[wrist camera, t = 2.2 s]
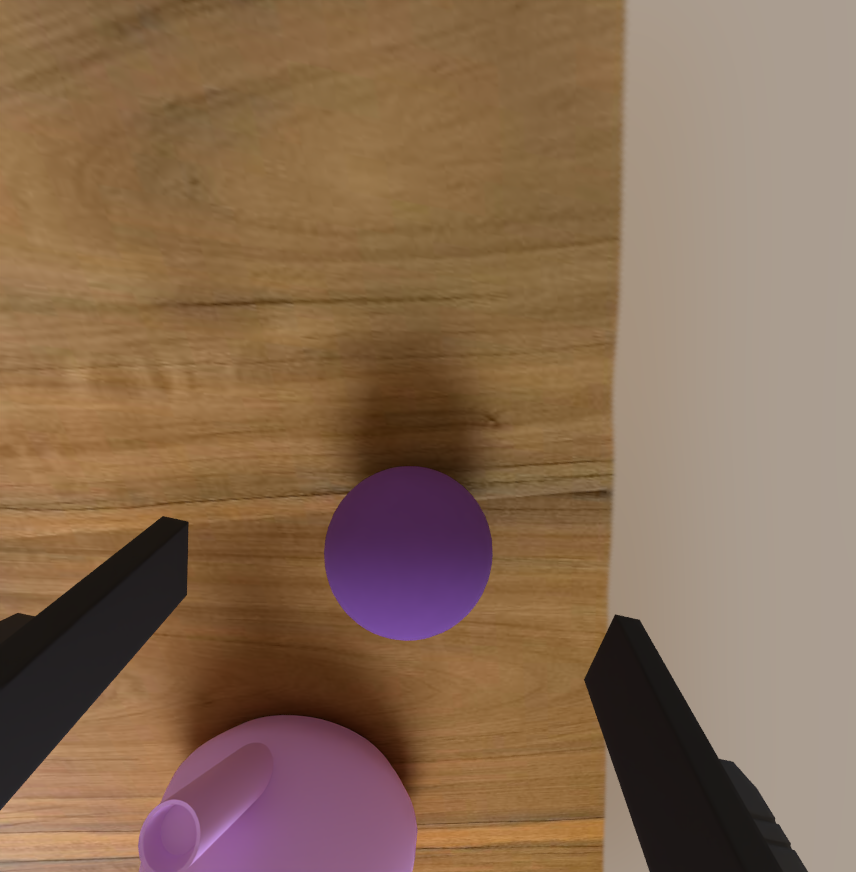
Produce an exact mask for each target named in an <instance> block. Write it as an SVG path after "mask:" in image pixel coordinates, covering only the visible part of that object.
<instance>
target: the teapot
mask: <svg viewBox="0 0 856 872" xmlns="http://www.w3.org/2000/svg"><path fill="white" fill-rule="evenodd" d="M416 840H417V824H416V817H415V813H414V808H413V805H412V802H411V799H410V797H409V795H408V793H407V791H406V789H405V787H404V786H403V784H402V782H401V780H400V778H399V777H398V775H397V773H396V772H395V770H394V769H393V767H392V766H391V764H390V763H389V761H388V760H387V759H386V757H385V756H384V755H383V754H382V753H381V752H380V751H379V750H378V749H377V748H376V747H375V746H374V745H373V744H372V743H370V742H369V741H368V740H367V739H365V738H363V737H362V736H360V735H359V734H357V733H355V732H353V731H351V730H349V729H347V728H345V727H343V726H340V725H338V724H335V723H332V722H329V721H326V720H322V719H318V718H313V717H307V716H297V715H277V716H267V717H262V718H257V719H254V720H251V721H248V722H245V723H243V724H241V725H238V726H236V727H234V728H232V729H229V730H227V731H225V732H223V733H221V734H219V735H217V736H216V737H214V738H212V739H210V740H209V741H207V742H206V743H204V744H203V745H201V746H200V747H198V748H197V749H196V750H195V751H194V752H193V753H192V754H191V755H190V756H189V757H188V758H187V759H186V760H185V761H184V762H183V763H182V764H181V765H180V766H179V768H178V769H177V771H176V772H175V774H174V776H173V778H172V780H171V781H170V783H169V785H168V787H167V789H166V791H165V793H164V796H163V798H162V801H161V803H160V804H159V805H158V806H156V807H155V808H154V809H153V810H152V811H151V812H150V814H149V815H148V816H147V818H146V820H145V822H144V824H143V826H142V829H141V832H140V836H139V845H138V847H139V856H140V860H141V865H140V869H139V872H412V870H413V865H414V860H415V850H416Z"/></svg>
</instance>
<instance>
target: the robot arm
mask: <svg viewBox="0 0 856 872" xmlns="http://www.w3.org/2000/svg"><path fill="white" fill-rule="evenodd" d="M187 565H188V522H187V521H183V520H178V519H174V518H169V517H164V516H163V517H161V518H160V519H159V520H157V521H156V522H155V523H154V524H152V525H151V526H150V527H149V528H147V529H146V530H145V531H143V532H142V533H141V534H140V535H138V536H137V537H136V538H135V539H133V540H132V541H131V542H129V543H128V544H127V545H126V546H124V547H123V548H122V549H121V550H119V551H118V552H117V553H115V554H114V555H113V556H112V557H110V558H109V559H108V560H107V561H105V562H104V563H103V564H101V565H100V566H99V567H98V568H96V569H95V570H94V571H93V572H91V573H90V574H89V575H87V576H86V577H85V578H84V579H82V580H81V581H80V582H79V583H77V584H76V585H75V586H73V587H72V588H71V589H70V590H68V591H67V592H66V593H65V594H63V595H62V596H61V597H60V598H58V599H57V600H56V601H54V602H53V603H52V604H51V605H49V606H48V607H47V608H46V609H44V610H43V611H42V612H40V613H39V614H38V615H37V616H30V615H25V614H21V613H16V614H14V615H12V616H10V617H8V618H6V619H4V620H2V621H0V810H1V809H2V808H3V807H4V806H5V804H6V803H7V802H8V801H9V800H10V799H11V797H12V796H13V795H14V794H15V793H16V792H17V790H18V789H19V788H20V787H21V786H22V785H23V784H24V782H25V781H26V780H27V779H28V778H29V777H30V775H31V774H32V773H33V772H34V771H35V770H36V769H37V767H38V766H39V765H40V764H41V763H42V762H43V760H44V759H45V758H46V757H47V756H48V755H49V754H50V752H51V751H52V750H53V749H54V748H55V747H56V745H57V744H58V743H59V742H60V741H61V740H62V739H63V737H64V736H65V735H66V734H67V733H68V732H69V730H70V729H71V728H72V727H73V726H74V725H75V723H76V722H77V721H78V720H79V719H80V718H81V717H82V715H83V714H84V713H85V712H86V711H87V710H88V708H89V707H90V706H91V705H92V704H93V703H94V702H95V700H96V699H97V698H98V697H99V696H100V695H101V693H102V692H103V691H104V690H105V689H106V688H107V687H108V685H109V684H110V683H111V682H112V681H113V680H114V678H115V677H116V676H117V675H118V674H119V673H120V671H121V670H122V669H123V668H124V667H125V666H126V665H127V663H128V662H129V661H130V660H131V659H132V658H133V656H134V655H135V654H136V653H137V652H138V651H139V650H140V648H141V647H142V646H143V645H144V644H145V643H146V641H147V640H148V639H149V638H150V637H151V636H152V635H153V633H154V632H155V631H156V630H157V629H158V628H159V626H160V625H161V624H162V623H163V622H164V621H165V620H166V618H167V617H168V616H169V615H170V614H171V613H172V611H173V610H174V609H175V608H176V607H177V606H178V604H179V603H180V602H181V601H182V600H183V599H184V598H185V596H186V595H187ZM584 681H585V683H586V686H587V689H588V692H589V695H590V698H591V701H592V704H593V707H594V710H595V713H596V716H597V719H598V722H599V724H600V727H601V730H602V733H603V736H604V739H605V742H606V745H607V748H608V751H609V754H610V757H611V760H612V763H613V766H614V768H615V771H616V774H617V777H618V780H619V782H620V786H621V789H622V792H623V795H624V797H625V800H626V803H627V806H628V809H629V812H630V815H631V818H632V821H633V824H634V827H635V830H636V833H637V836H638V839H639V842H640V844H641V848H642V850H643V853H644V856H645V859H646V862H647V865H648V868H649V871H650V872H808V871H807V869H806V868H805V866H804V865H803V863H802V861H801V860H800V858H799V856H798V855H797V853H796V852H795V850H792V849H791V846H790V845H791V843H790V842H789V840H788V838H787V837H786V835H785V834H784V832H783V831H782V829H781V827H780V825H779V824H776V822H775V817H774V816H773V814H772V812H771V811H770V809H769V808H768V806H767V804H766V803H765V801H764V800H763V798H762V796H761V794H760V793H759V791H758V790H757V788H756V787H755V786H754V785H753V784H752V783H751V781H749V779H748V778H747V777H746V776H745V775H744V774H743V773H742V771H741V770H740V769H739V768H738V767H737V766H736V765H735V764H734V762H731V761H727V760H721V759H718V757H717V755H716V753H715V751H714V750H713V748H712V746H711V744H710V743H709V741H708V739H707V737H706V736H705V734H704V732H703V730H702V729H701V727H700V725H699V723H698V722H697V720H696V718H695V716H694V715H693V713H692V711H691V709H690V707H689V706H688V704H687V702H686V700H685V699H684V697H683V696H682V693H681V692H680V690H679V688H678V687H677V685H676V683H675V681H674V679H673V678H672V676H671V674H670V673H669V671H668V669H667V667H666V665H665V664H664V662H663V660H662V658H661V657H660V655H659V653H658V651H657V650H656V648H655V646H654V645H653V643H652V641H651V639H650V637H649V636H648V634H647V632H646V631H645V629H644V627H643V625H642V623H641V622H640V620H638V619H633V618H629V617H624V616H620V615H615V616H614V618H613V620H612V622H611V624H610V626H609V629H608V631H607V633H606V635H605V637H604V639H603V641H602V643H601V645H600V647H599V650H598V652H597V654H596V656H595V658H594V660H593V662H592V664H591V666H590V668H589V670H588V673H587V675H586V677H585V679H584Z"/></svg>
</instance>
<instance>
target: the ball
mask: <svg viewBox="0 0 856 872" xmlns="http://www.w3.org/2000/svg"><path fill="white" fill-rule="evenodd" d="M324 557H325V569H326V574H327V578H328V581H329V584H330V587H331V589H332V592H333V594H334V596H335V597H336V599H337V601H338V602H339V604H340V606H341V607H342V608H343V610H344V611H345V612H346V613H347V614H348V615H349V616H350V617H351V618H352V619H353V620H354V621H356V622H357V623H358V624H359V625H360V626H362V627H364V628H365V629H367V630H368V631H370V632H372V633H374V634H377V635H380V636H382V637H386V638H390V639H395V640H419V639H425V638H429V637H432V636H435V635H437V634H440V633H442V632H444V631H446V630H448V629H450V628H452V627H453V626H454V625H456V624H457V623H458V622H460V621H461V620H462V619H463V618H464V617H465V616H466V615H468V613H469V612H470V611H471V610H472V609H473V607H474V606H475V605H476V603H477V602H478V600H479V599H480V597H481V595H482V593H483V591H484V589H485V586H486V584H487V581H488V579H489V575H490V570H491V565H492V539H491V534H490V530H489V526H488V523H487V520H486V518H485V515H484V513H483V512H482V510H481V508H480V506H479V505H478V503H477V501H476V500H475V499H474V497H473V496H472V495H471V494H470V493H469V492H468V491H467V490H466V489H465V488H464V487H463V486H462V485H461V484H459V483H458V482H457V481H456V480H454V479H453V478H451V477H449V476H447V475H446V474H443V473H441V472H438V471H436V470H432V469H429V468H424V467H418V466H402V467H395V468H390V469H386V470H383V471H380V472H378V473H376V474H374V475H372V476H370V477H368V478H366V479H365V480H363V481H362V482H360V483H359V484H358V485H357V486H355V487H354V488H353V489H352V490H351V491H350V492H349V493H348V494H347V495H346V496H345V498H344V499H343V500H342V501H341V503H340V504H339V506H338V508H337V509H336V511H335V513H334V515H333V517H332V520H331V522H330V525H329V527H328V531H327V535H326V540H325V550H324Z"/></svg>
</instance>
